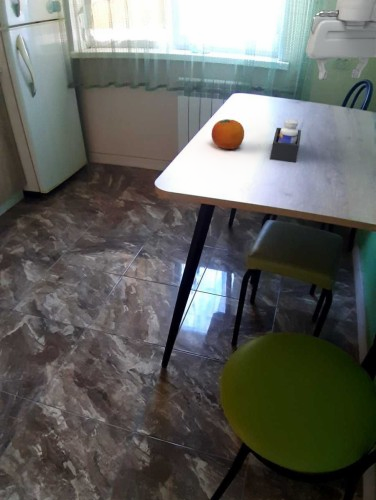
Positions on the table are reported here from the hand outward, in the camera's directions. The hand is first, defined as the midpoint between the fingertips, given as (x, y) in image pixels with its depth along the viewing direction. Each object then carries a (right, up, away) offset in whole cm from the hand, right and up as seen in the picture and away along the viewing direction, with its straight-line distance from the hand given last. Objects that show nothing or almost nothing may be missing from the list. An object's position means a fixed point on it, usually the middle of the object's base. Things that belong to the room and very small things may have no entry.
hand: (338, 78), depth 106 cm
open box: (-7, -7, +28) cm, 30 cm away
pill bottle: (-8, -9, +25) cm, 28 cm away
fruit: (-26, -4, +30) cm, 40 cm away
